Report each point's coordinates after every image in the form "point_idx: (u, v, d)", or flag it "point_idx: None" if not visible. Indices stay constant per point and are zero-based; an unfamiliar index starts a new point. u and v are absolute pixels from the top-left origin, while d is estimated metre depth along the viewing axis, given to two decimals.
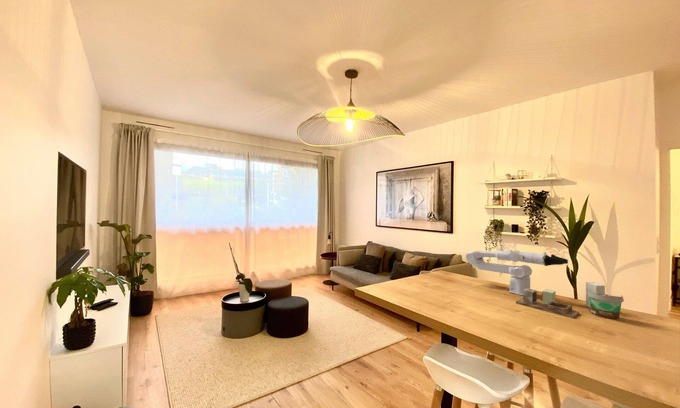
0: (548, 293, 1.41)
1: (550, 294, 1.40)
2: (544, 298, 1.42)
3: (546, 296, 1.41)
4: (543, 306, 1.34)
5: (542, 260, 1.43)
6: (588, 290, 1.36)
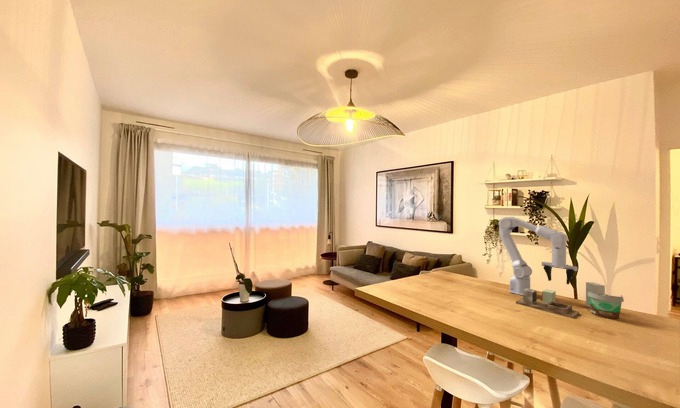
0: (548, 293, 1.41)
1: (550, 294, 1.40)
2: (544, 298, 1.42)
3: (546, 296, 1.41)
4: (543, 306, 1.34)
5: (576, 270, 1.37)
6: (588, 290, 1.36)
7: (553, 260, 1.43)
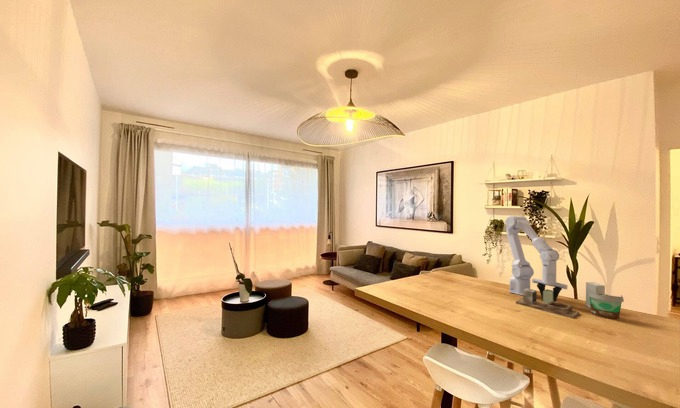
0: (548, 293, 1.40)
1: (550, 294, 1.40)
2: (544, 298, 1.42)
3: (547, 296, 1.41)
4: (543, 306, 1.34)
5: (566, 288, 1.37)
6: (588, 290, 1.36)
7: (543, 277, 1.43)
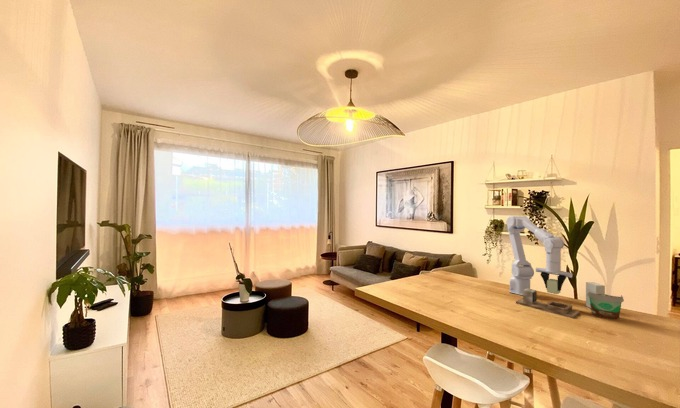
0: (553, 282, 1.35)
1: (555, 283, 1.35)
2: (549, 287, 1.37)
3: (551, 286, 1.36)
4: (543, 306, 1.34)
5: (571, 276, 1.32)
6: (588, 290, 1.36)
7: (547, 266, 1.37)
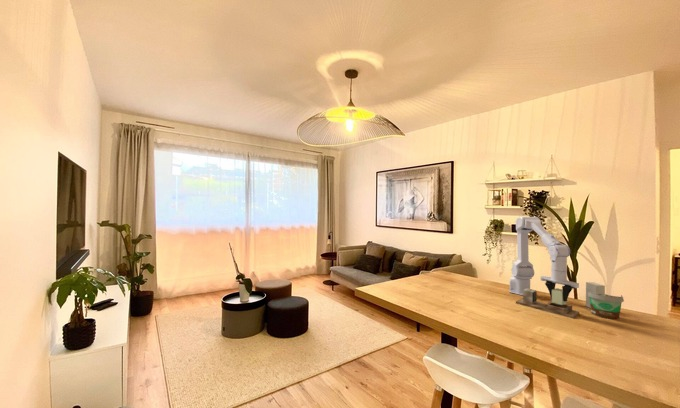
0: (558, 292, 1.29)
1: (560, 293, 1.28)
2: (553, 297, 1.30)
3: (556, 296, 1.29)
4: (543, 306, 1.34)
5: (577, 286, 1.24)
6: (588, 290, 1.36)
7: (552, 275, 1.31)
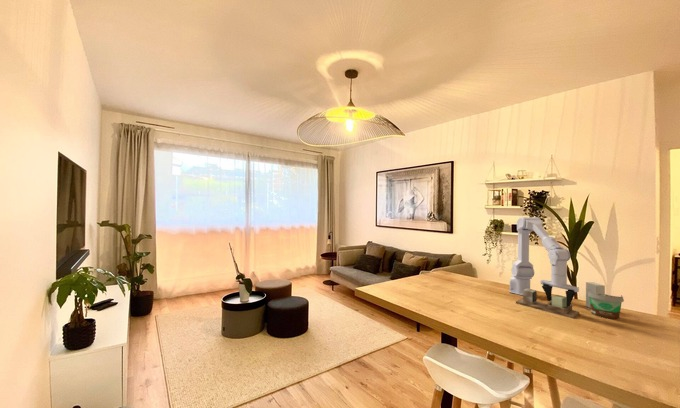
0: (557, 299, 1.28)
1: (560, 300, 1.28)
2: (553, 304, 1.30)
3: (556, 302, 1.29)
4: (543, 306, 1.34)
5: (577, 291, 1.24)
6: (588, 290, 1.36)
7: (552, 279, 1.31)
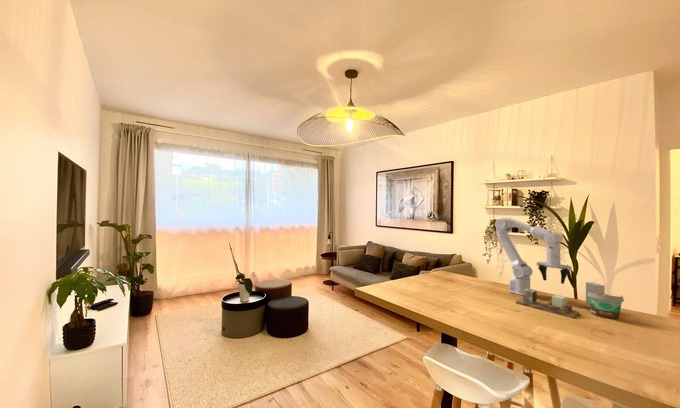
0: (557, 299, 1.28)
1: (560, 300, 1.28)
2: (553, 304, 1.30)
3: (556, 302, 1.29)
4: (543, 306, 1.34)
5: (570, 269, 1.38)
6: (588, 290, 1.36)
7: (547, 260, 1.44)
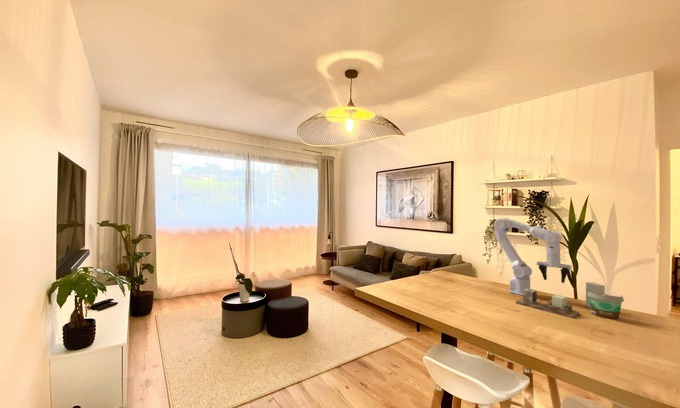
0: (557, 299, 1.28)
1: (560, 300, 1.28)
2: (553, 304, 1.30)
3: (556, 302, 1.29)
4: (543, 306, 1.34)
5: (570, 268, 1.39)
6: (588, 290, 1.36)
7: (548, 259, 1.45)
